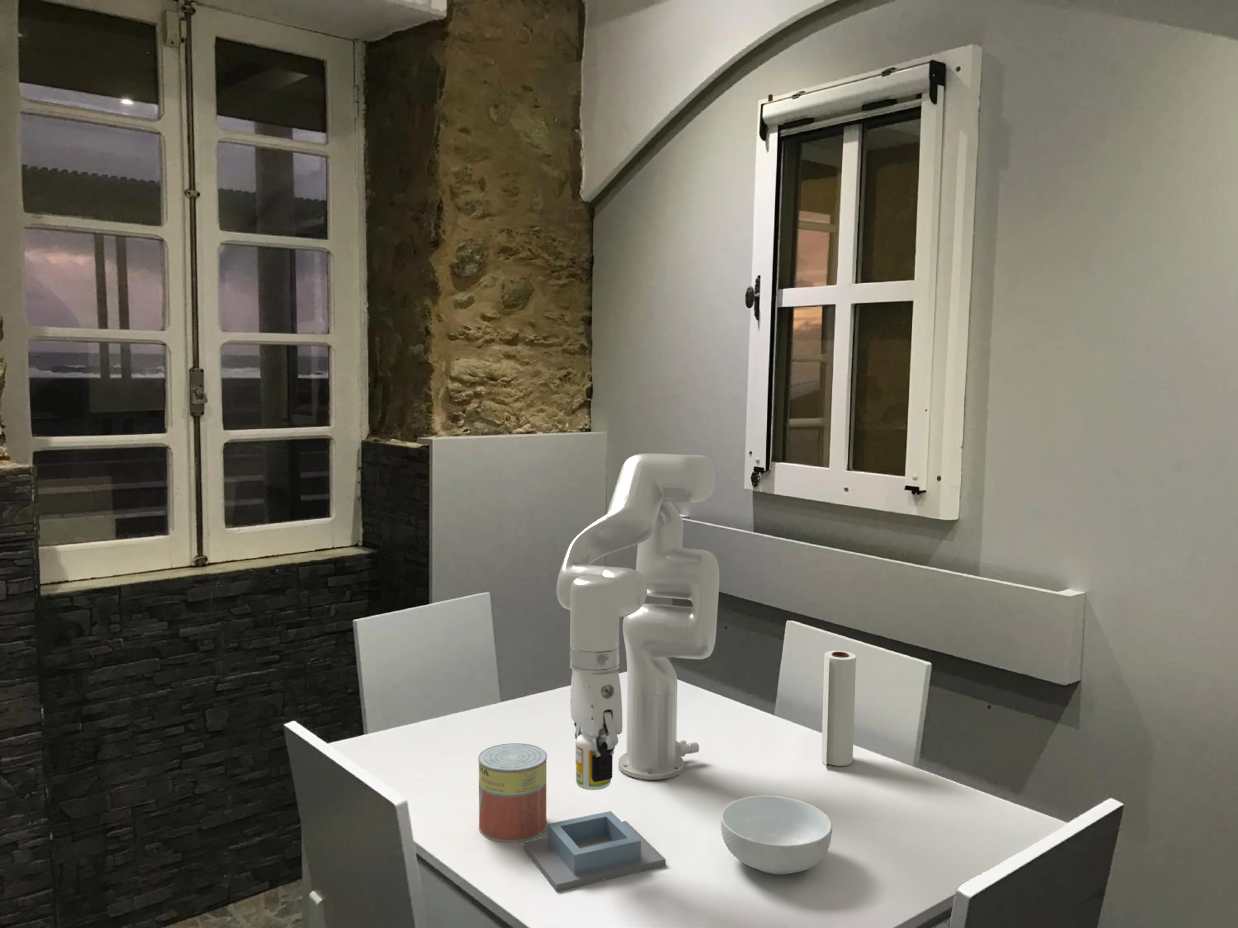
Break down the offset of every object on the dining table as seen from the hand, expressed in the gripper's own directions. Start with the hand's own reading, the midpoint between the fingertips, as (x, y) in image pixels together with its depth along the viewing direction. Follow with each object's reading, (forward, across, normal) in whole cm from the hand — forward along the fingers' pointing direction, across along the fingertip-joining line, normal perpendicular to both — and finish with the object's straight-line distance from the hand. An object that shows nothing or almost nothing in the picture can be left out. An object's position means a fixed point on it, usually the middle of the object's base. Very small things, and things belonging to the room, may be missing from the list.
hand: (593, 770), depth 149 cm
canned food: (+14, +15, +8) cm, 22 cm away
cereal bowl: (+14, -13, -25) cm, 32 cm away
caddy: (+14, 0, 0) cm, 14 cm away
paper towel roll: (+14, +15, -58) cm, 62 cm away
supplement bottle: (+2, 0, 0) cm, 2 cm away
